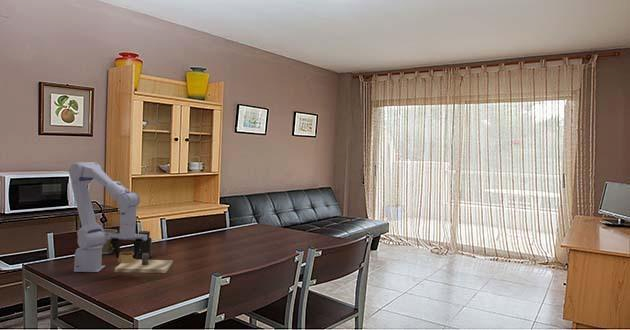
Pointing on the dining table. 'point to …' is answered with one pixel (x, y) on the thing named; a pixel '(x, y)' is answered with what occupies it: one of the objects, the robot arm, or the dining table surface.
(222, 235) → the dining table surface
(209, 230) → the dining table surface
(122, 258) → the wooden ring
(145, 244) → the supplement bottle
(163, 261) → the piston block
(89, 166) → the robot arm
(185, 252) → the dining table surface
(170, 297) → the dining table surface
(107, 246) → the ceramic cup
